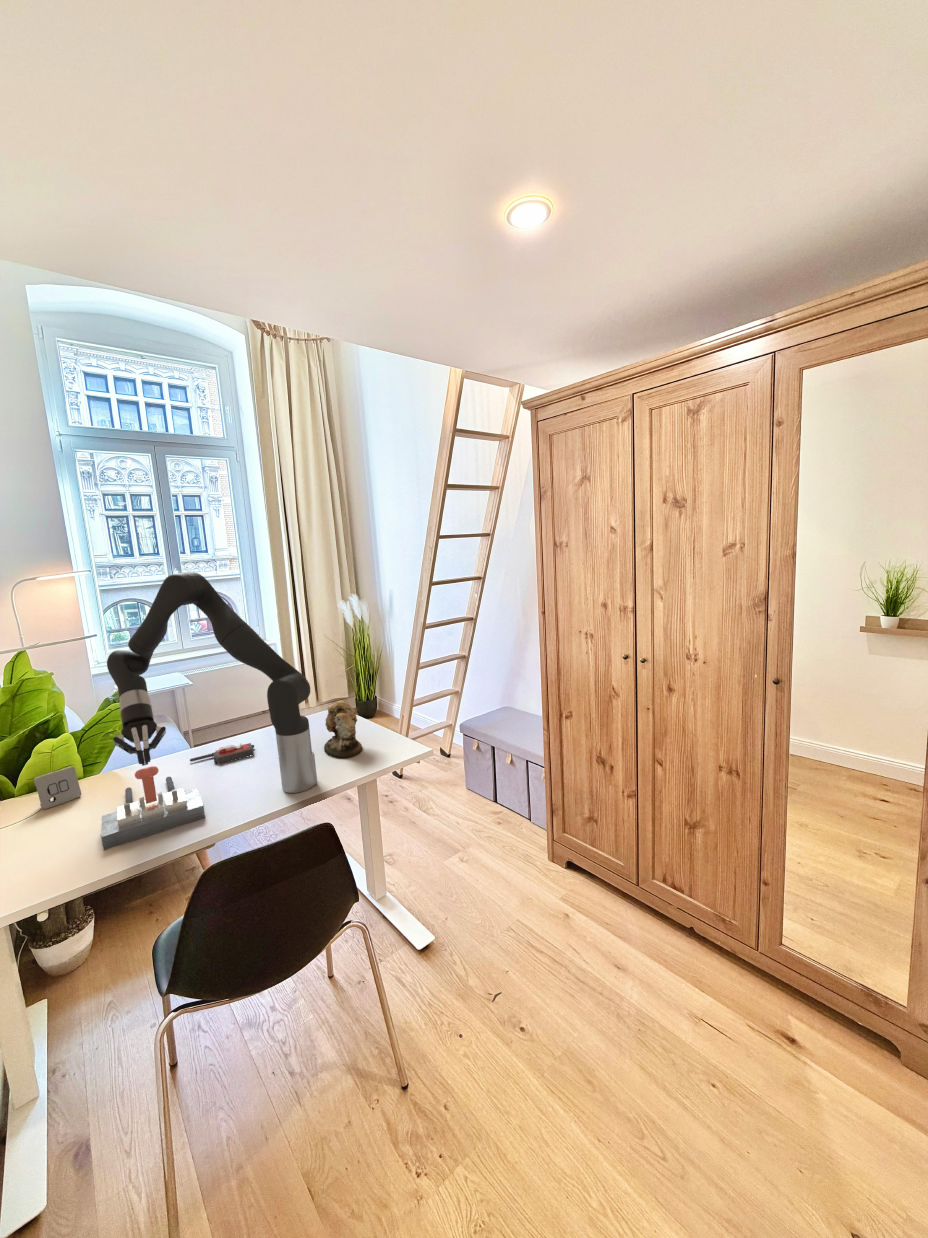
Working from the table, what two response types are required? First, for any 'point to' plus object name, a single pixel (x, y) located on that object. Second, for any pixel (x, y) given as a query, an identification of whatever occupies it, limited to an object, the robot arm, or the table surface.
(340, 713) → the brown figurine
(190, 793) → the breaker panel
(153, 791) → the breaker lever
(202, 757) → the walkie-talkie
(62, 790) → the electrical switch
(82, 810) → the table surface
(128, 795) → the grey upright pegs
